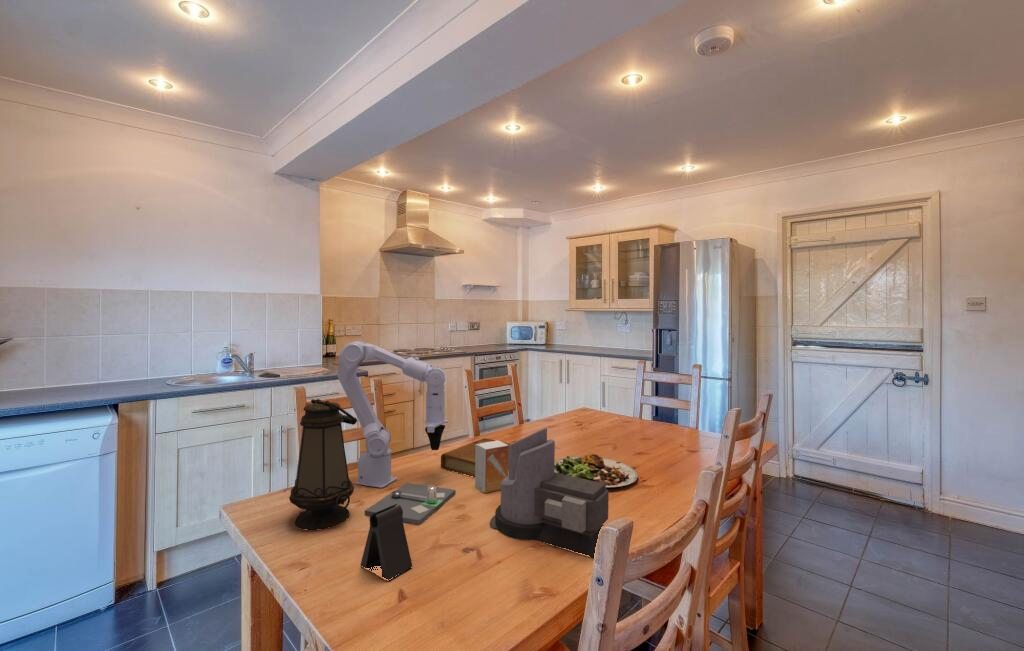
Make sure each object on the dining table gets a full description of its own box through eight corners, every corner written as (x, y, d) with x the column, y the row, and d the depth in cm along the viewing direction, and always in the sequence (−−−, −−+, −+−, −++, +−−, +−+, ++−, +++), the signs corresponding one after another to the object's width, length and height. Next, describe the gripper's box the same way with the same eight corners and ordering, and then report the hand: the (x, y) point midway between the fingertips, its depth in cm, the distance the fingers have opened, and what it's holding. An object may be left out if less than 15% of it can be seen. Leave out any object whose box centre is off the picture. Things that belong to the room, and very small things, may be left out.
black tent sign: (360, 566, 90) (360, 508, 90) (384, 553, 95) (384, 498, 95) (388, 582, 85) (388, 521, 84) (412, 568, 90) (412, 510, 89)
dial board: (364, 515, 113) (364, 510, 113) (407, 486, 132) (407, 482, 132) (420, 525, 108) (420, 520, 108) (456, 494, 127) (456, 489, 127)
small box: (485, 494, 127) (485, 449, 127) (474, 486, 132) (474, 443, 132) (508, 488, 131) (509, 444, 131) (497, 481, 137) (497, 439, 136)
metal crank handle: (389, 497, 121) (389, 482, 121) (395, 493, 123) (395, 479, 123) (434, 504, 116) (434, 489, 116) (439, 500, 119) (439, 485, 118)
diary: (482, 452, 167) (483, 437, 167) (524, 462, 156) (524, 446, 156) (440, 469, 148) (440, 452, 148) (484, 482, 137) (485, 463, 137)
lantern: (272, 520, 110) (271, 400, 109) (327, 499, 123) (327, 391, 122) (315, 541, 100) (314, 409, 99) (370, 516, 112) (370, 399, 112)
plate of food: (537, 484, 135) (538, 465, 134) (562, 456, 160) (562, 440, 160) (631, 503, 124) (632, 481, 124) (641, 470, 150) (642, 452, 150)
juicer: (477, 526, 107) (478, 427, 107) (512, 503, 121) (513, 414, 120) (593, 565, 91) (594, 448, 91) (619, 533, 105) (620, 431, 104)
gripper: (444, 411, 130) (443, 457, 130) (451, 401, 144) (451, 442, 145) (420, 411, 130) (420, 456, 130) (430, 401, 145) (430, 442, 145)
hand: (435, 449), depth 138 cm, fingers closed
